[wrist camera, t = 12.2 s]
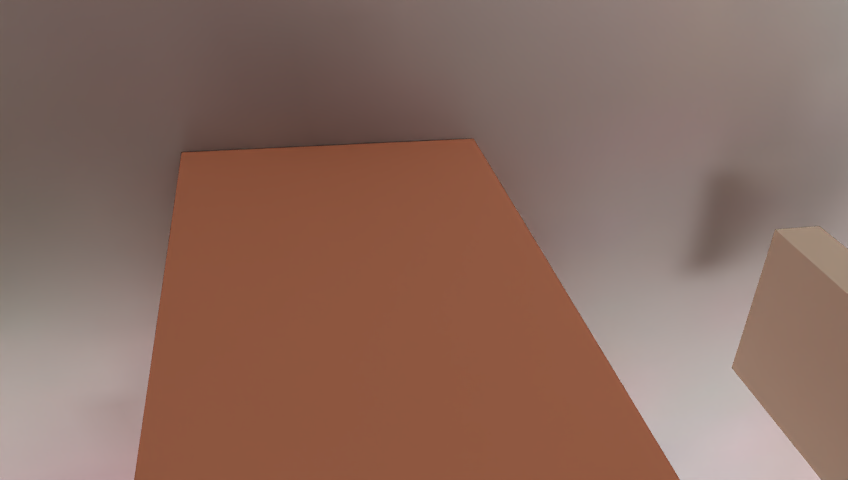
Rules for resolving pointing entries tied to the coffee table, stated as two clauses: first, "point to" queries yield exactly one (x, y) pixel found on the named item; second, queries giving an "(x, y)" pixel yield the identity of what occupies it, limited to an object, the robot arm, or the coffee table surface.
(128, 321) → the coffee table surface
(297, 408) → the orange-headed mallet
